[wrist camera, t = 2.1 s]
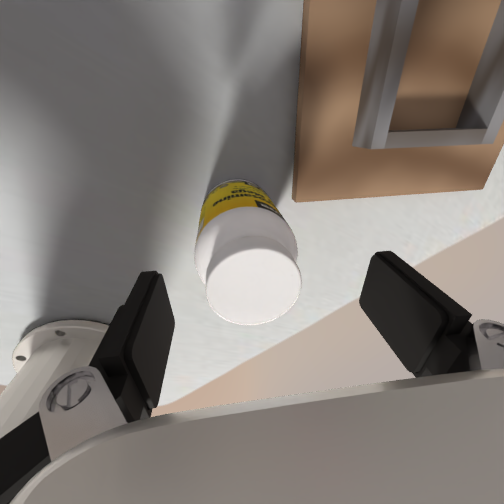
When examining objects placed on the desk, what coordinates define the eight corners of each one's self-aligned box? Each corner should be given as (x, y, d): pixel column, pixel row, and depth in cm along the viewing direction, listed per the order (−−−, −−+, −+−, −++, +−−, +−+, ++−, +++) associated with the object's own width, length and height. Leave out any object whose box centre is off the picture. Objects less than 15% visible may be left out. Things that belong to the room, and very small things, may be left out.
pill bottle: (278, 184, 20) (337, 241, 10) (262, 247, 23) (297, 338, 13) (204, 170, 19) (195, 222, 9) (197, 239, 21) (184, 335, 12)
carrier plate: (470, 186, 23) (512, 196, 19) (291, 198, 21) (306, 212, 17) (602, -119, 14) (719, -191, 11) (312, -150, 12) (349, -250, 9)
